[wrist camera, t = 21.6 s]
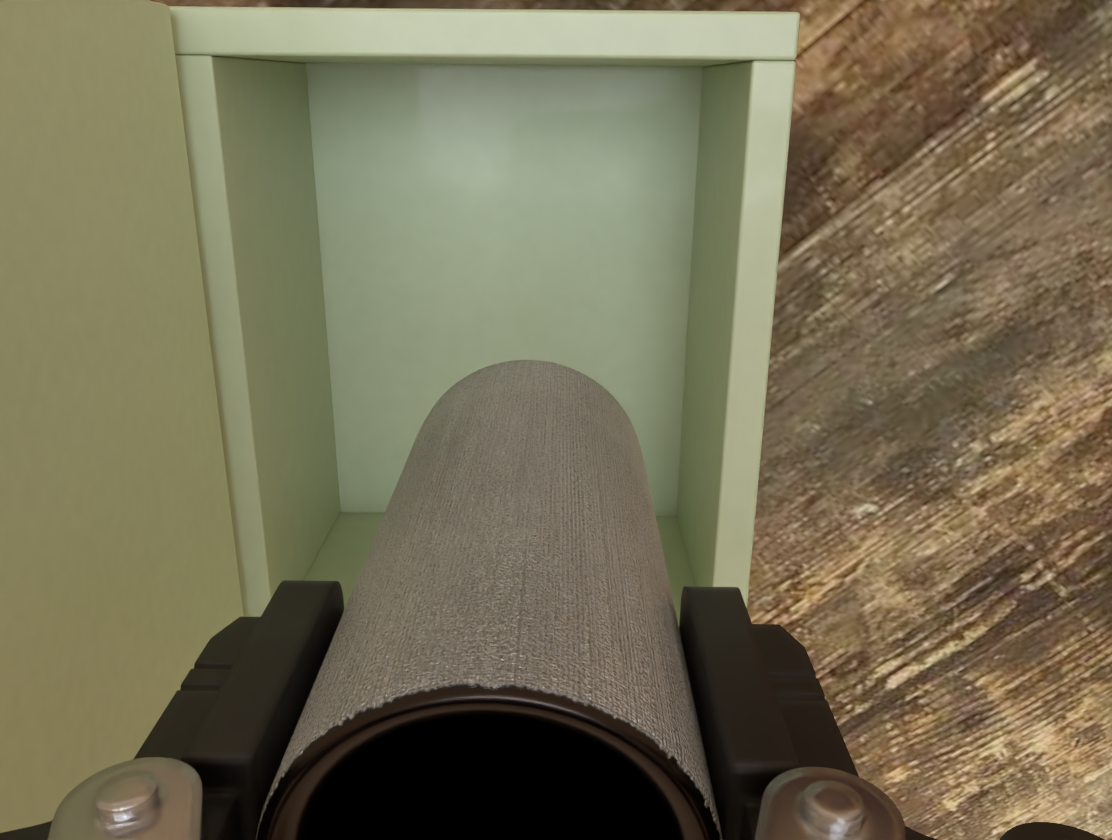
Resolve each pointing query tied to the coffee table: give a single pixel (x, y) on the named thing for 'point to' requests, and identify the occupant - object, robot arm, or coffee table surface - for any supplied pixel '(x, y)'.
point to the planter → (506, 641)
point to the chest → (482, 250)
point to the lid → (100, 399)
